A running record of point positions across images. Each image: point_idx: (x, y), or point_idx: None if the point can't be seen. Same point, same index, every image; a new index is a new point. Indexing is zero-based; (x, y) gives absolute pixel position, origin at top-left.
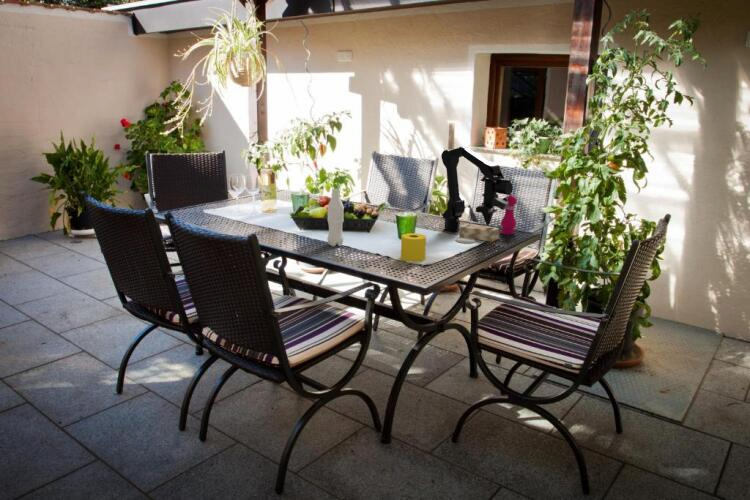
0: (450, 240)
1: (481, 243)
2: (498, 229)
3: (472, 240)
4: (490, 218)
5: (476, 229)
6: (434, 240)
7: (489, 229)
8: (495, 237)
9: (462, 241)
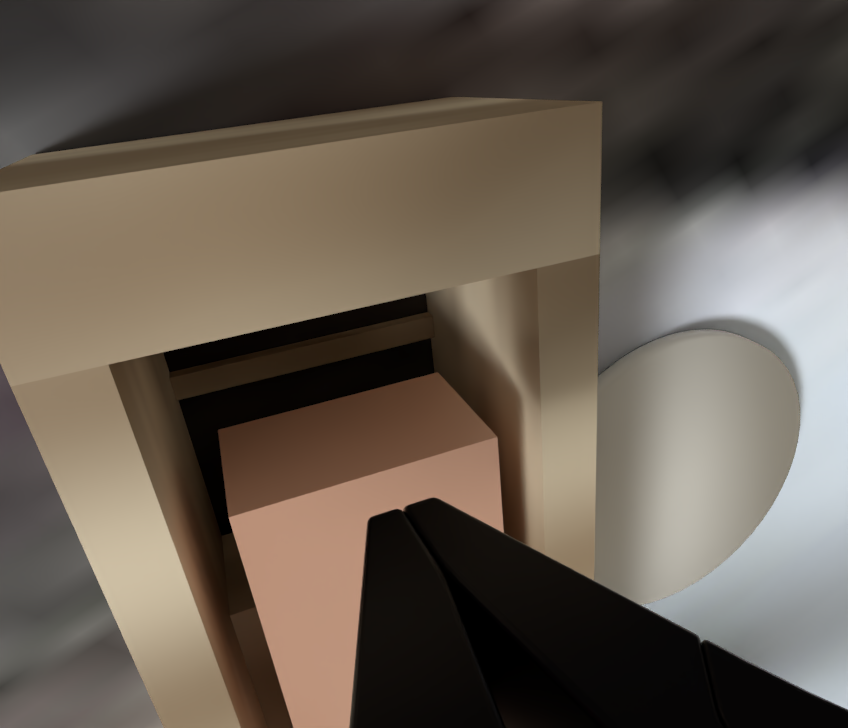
0: (727, 588)
1: (684, 210)
2: (35, 182)
3: (675, 389)
4: (501, 723)
5: (582, 572)
6: (794, 662)
7: (169, 479)
8: (301, 123)
9: (786, 443)
